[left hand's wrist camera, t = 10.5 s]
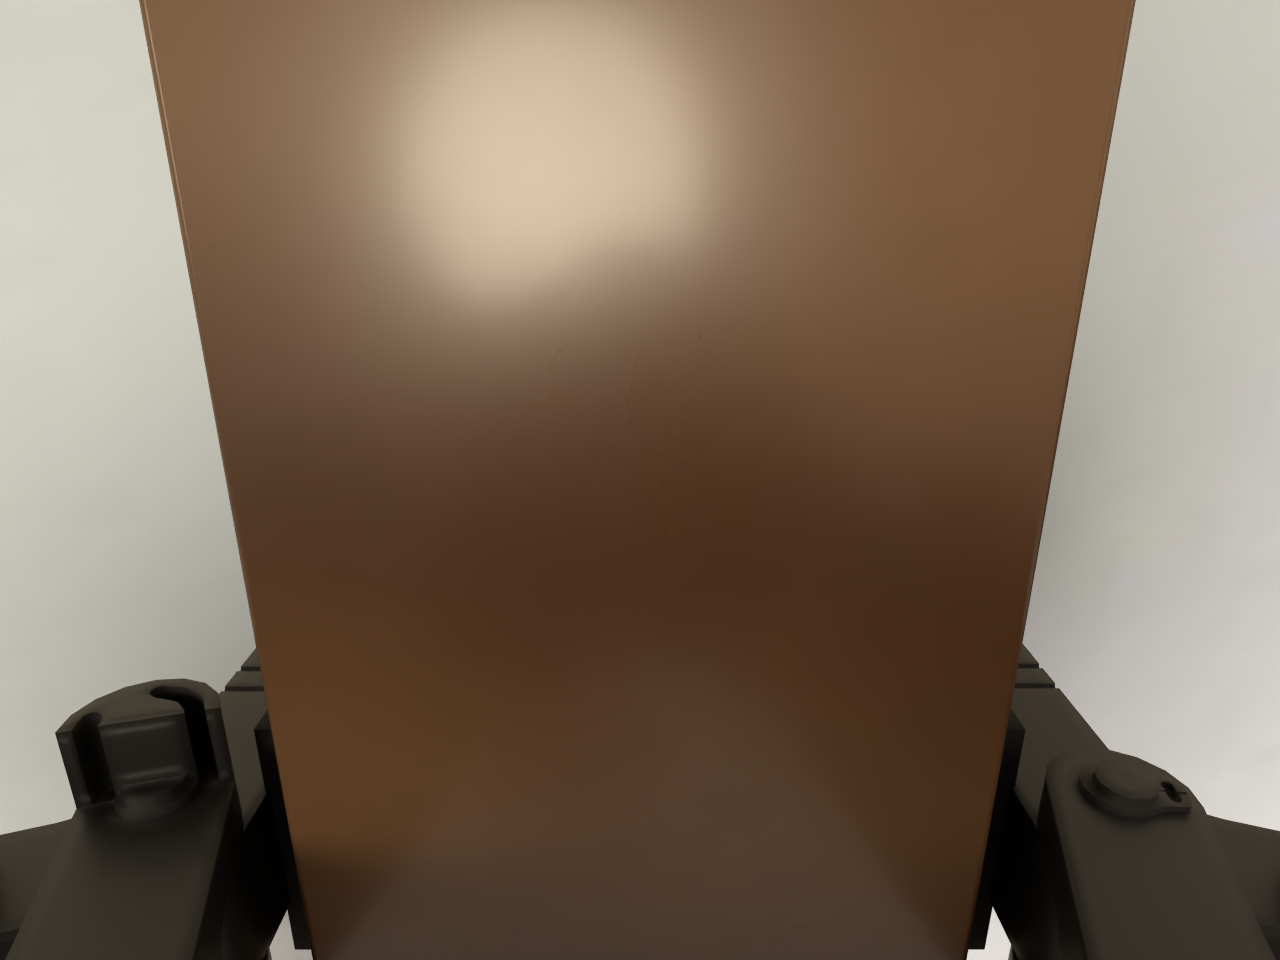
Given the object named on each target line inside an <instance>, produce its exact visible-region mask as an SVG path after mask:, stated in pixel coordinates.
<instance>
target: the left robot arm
mask: <svg viewBox="0 0 1280 960" xmlns="http://www.w3.org/2000/svg"><path fill="white" fill-rule="evenodd" d="M55 734H56V738H57V741H58V745H59V748H60V752H61V755H62V759H63V762H64V766H65V769H66V773H67V776H68V780H69V783H70V787H71V790H72V794H73V797H74V801H75V804H76V808H77V809H76V811H75V813H74V815H73V817H72V819H69V820H66V821H62V822H58V823H55V824H50V825H45V826H41V827H36V828H31V829H27V830H22V831H17V832H13V833H8V834H3V835H0V960H272V958H271V953H270V948H269V946H270V944H271V942H272V940H273V938H274V936H275V934H276V932H277V930H278V928H279V925H280V923H281V921H282V919H283V917H284V915H285V913H286V911H287V909H288V915H289V920H290V925H291V931H292V936H293V941H294V946H295V949H311V946H310V940H309V935H308V929H307V924H306V918H305V913H304V907H303V902H302V896H301V891H300V885H299V880H298V874H297V869H296V863H295V858H294V852H293V847H292V841H291V835H290V830H289V824H288V819H287V813H286V808H285V802H284V797H283V791H282V786H281V780H280V775H279V769H278V764H277V758H276V753H275V747H274V742H273V736H272V731H271V725H270V720H269V714H268V708H267V703H266V697H265V692H264V686H263V681H262V675H261V670H260V664H259V659H258V653H257V648H256V649H255V650H254V651H253V653H252V654H251V655H250V656H249V658H248V659H247V660H246V661H245V663H244V664H243V665H242V666H241V671H237V672H236V674H235V675H234V676H233V677H232V679H231V680H230V681H229V682H228V684H227V685H226V686H225V692H220V693H219V695H218V693H217V692H216V691H215V690H213V689H212V688H211V687H210V686H208V685H207V684H206V683H203V682H198V681H193V680H188V679H166V680H154V681H150V682H146V683H141V684H137V685H133V686H128V687H125V688H122V689H120V690H117V691H115V692H113V693H110V694H108V695H105V696H103V697H100V698H98V699H96V700H94V701H92V702H91V703H89V704H88V705H86V706H85V707H83V708H82V709H80V710H78V711H77V712H75V713H74V714H72V715H71V716H70V717H69V718H68V719H67V720H66V721H65V722H64V724H63V725H62V726H61V727H60V728H59V729H58V730H57V731H56V732H55ZM992 906H993V908H994V910H995V912H996V914H997V916H998V918H999V920H1000V922H1001V924H1002V926H1003V928H1004V930H1005V933H1006V935H1007V937H1008V939H1009V941H1010V943H1011V948H1010V953H1009V958H1008V960H1280V831H1276V830H1271V829H1267V828H1262V827H1257V826H1253V825H1248V824H1243V823H1238V822H1234V821H1229V820H1224V819H1221V818H1217V817H1214V816H1210V815H1207V814H1206V812H1205V810H1204V807H1203V806H1202V805H1201V804H1200V802H1199V801H1198V800H1197V798H1196V797H1195V796H1194V794H1193V793H1192V792H1191V790H1190V789H1189V788H1188V787H1187V786H1185V785H1184V784H1183V783H1181V782H1180V781H1179V780H1177V779H1176V778H1174V777H1173V776H1172V775H1170V774H1169V773H1168V772H1166V771H1165V770H1163V769H1161V768H1159V767H1156V766H1154V765H1152V764H1150V763H1148V762H1146V761H1144V760H1142V759H1139V758H1137V757H1134V756H1130V755H1126V754H1122V753H1119V752H1115V751H1111V750H1109V749H1108V748H1107V747H1106V746H1105V744H1104V743H1103V742H1102V741H1101V739H1100V738H1099V737H1098V736H1097V735H1096V733H1095V732H1094V731H1093V730H1092V728H1091V727H1090V726H1089V725H1088V723H1087V722H1086V721H1085V720H1084V719H1083V717H1082V716H1081V715H1080V714H1079V712H1078V711H1077V710H1076V709H1075V707H1074V706H1073V705H1072V704H1071V703H1070V701H1069V700H1068V699H1067V698H1066V696H1065V695H1064V694H1063V693H1062V692H1061V690H1060V689H1059V688H1055V683H1054V682H1053V680H1052V679H1051V678H1050V677H1049V676H1048V674H1047V673H1046V672H1045V671H1044V669H1043V668H1039V663H1038V662H1037V661H1036V660H1035V658H1034V657H1033V656H1032V655H1031V653H1030V652H1029V651H1028V650H1027V648H1026V647H1025V646H1024V645H1023V644H1022V647H1021V653H1020V658H1019V664H1018V670H1017V675H1016V681H1015V687H1014V692H1013V698H1012V704H1011V709H1010V715H1009V721H1008V726H1007V732H1006V738H1005V743H1004V749H1003V755H1002V760H1001V766H1000V772H999V777H998V783H997V789H996V794H995V800H994V806H993V811H992V817H991V823H990V828H989V834H988V840H987V845H986V851H985V857H984V862H983V868H982V874H981V879H980V885H979V891H978V896H977V902H976V908H975V913H974V919H973V925H972V930H971V936H970V942H969V948H968V949H985V943H986V938H987V933H988V927H989V922H990V917H991V912H992Z"/></svg>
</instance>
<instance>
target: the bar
mask: <svg viewBox="0 0 1280 960" xmlns="http://www.w3.org/2000/svg"><path fill="white" fill-rule="evenodd" d="M139 2H140V7H141V13H142V18H143V24H144V29H145V35H146V40H147V46H148V51H149V57H150V62H151V68H152V74H153V79H154V85H155V90H156V96H157V101H158V107H159V112H160V118H161V123H162V129H163V134H164V140H165V145H166V151H167V156H168V162H169V167H170V173H171V178H172V184H173V189H174V195H175V200H176V206H177V212H178V217H179V223H180V228H181V234H182V239H183V245H184V250H185V256H186V261H187V267H188V272H189V278H190V283H191V289H192V294H193V300H194V305H195V311H196V316H197V322H198V327H199V333H200V339H201V344H202V350H203V355H204V361H205V366H206V372H207V377H208V383H209V388H210V394H211V399H212V405H213V410H214V416H215V421H216V427H217V432H218V438H219V443H220V449H221V454H222V460H223V466H224V471H225V477H226V482H227V488H228V493H229V499H230V504H231V510H232V515H233V521H234V526H235V532H236V537H237V543H238V548H239V554H240V559H241V565H242V570H243V576H244V581H245V587H246V593H247V598H248V604H249V609H250V615H251V620H252V626H253V631H254V637H255V642H256V648H257V653H258V659H259V664H260V670H261V675H262V681H263V686H264V692H265V697H266V703H267V708H268V714H269V720H270V725H271V731H272V736H273V742H274V747H275V753H276V758H277V764H278V769H279V775H280V780H281V786H282V791H283V797H284V802H285V808H286V813H287V819H288V824H289V830H290V835H291V841H292V847H293V852H294V858H295V863H296V869H297V874H298V880H299V885H300V891H301V896H302V902H303V907H304V913H305V918H306V924H307V929H308V935H309V940H310V946H311V951H312V957H313V960H966V959H967V953H968V948H969V942H970V936H971V930H972V925H973V919H974V913H975V908H976V902H977V896H978V891H979V885H980V879H981V874H982V868H983V862H984V857H985V851H986V845H987V840H988V834H989V828H990V823H991V817H992V811H993V806H994V800H995V794H996V789H997V783H998V777H999V772H1000V766H1001V760H1002V755H1003V749H1004V743H1005V738H1006V732H1007V726H1008V721H1009V715H1010V709H1011V704H1012V698H1013V692H1014V687H1015V681H1016V675H1017V670H1018V664H1019V658H1020V653H1021V647H1022V641H1023V636H1024V630H1025V624H1026V619H1027V613H1028V607H1029V602H1030V596H1031V590H1032V585H1033V579H1034V573H1035V568H1036V562H1037V556H1038V551H1039V545H1040V539H1041V534H1042V528H1043V522H1044V517H1045V511H1046V505H1047V499H1048V494H1049V488H1050V482H1051V477H1052V471H1053V465H1054V460H1055V454H1056V448H1057V443H1058V437H1059V431H1060V426H1061V420H1062V414H1063V409H1064V403H1065V397H1066V392H1067V386H1068V380H1069V375H1070V369H1071V363H1072V358H1073V352H1074V346H1075V341H1076V335H1077V329H1078V324H1079V318H1080V312H1081V307H1082V301H1083V295H1084V290H1085V284H1086V278H1087V273H1088V267H1089V261H1090V256H1091V250H1092V244H1093V239H1094V233H1095V227H1096V222H1097V216H1098V210H1099V205H1100V199H1101V193H1102V188H1103V182H1104V176H1105V171H1106V165H1107V159H1108V154H1109V148H1110V142H1111V137H1112V131H1113V125H1114V120H1115V114H1116V108H1117V102H1118V97H1119V91H1120V85H1121V80H1122V74H1123V68H1124V63H1125V57H1126V51H1127V46H1128V40H1129V34H1130V29H1131V23H1132V17H1133V12H1134V6H1135V0H139Z"/></svg>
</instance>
